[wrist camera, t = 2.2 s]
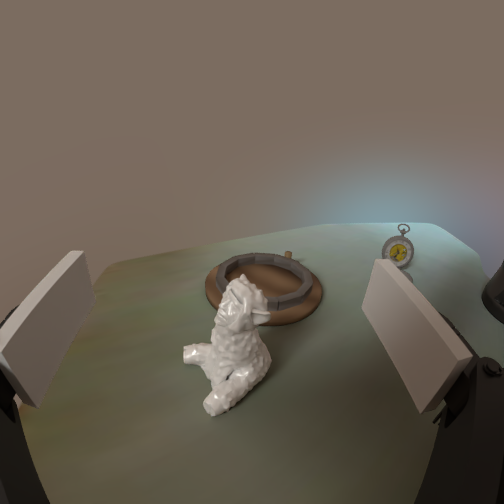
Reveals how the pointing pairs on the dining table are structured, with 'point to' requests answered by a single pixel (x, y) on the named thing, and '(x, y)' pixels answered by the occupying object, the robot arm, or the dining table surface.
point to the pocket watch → (399, 251)
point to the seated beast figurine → (233, 347)
